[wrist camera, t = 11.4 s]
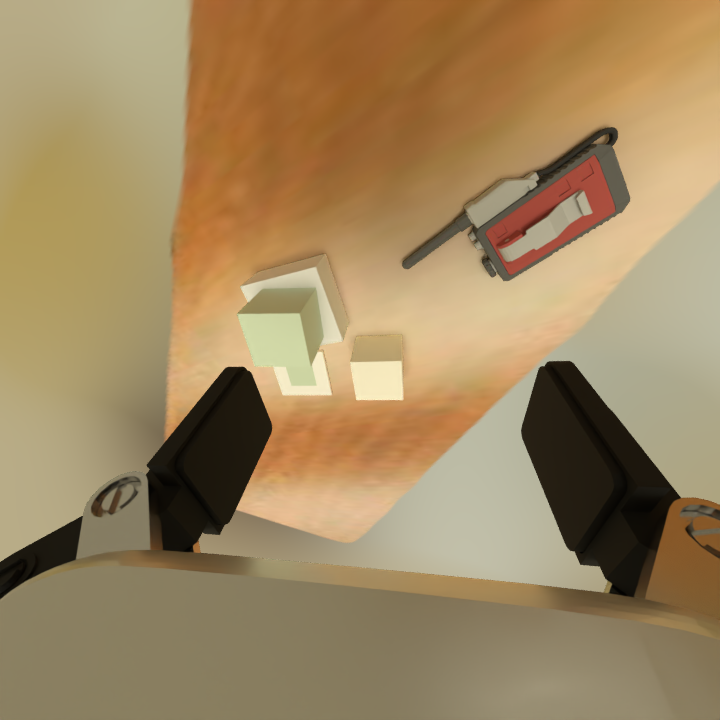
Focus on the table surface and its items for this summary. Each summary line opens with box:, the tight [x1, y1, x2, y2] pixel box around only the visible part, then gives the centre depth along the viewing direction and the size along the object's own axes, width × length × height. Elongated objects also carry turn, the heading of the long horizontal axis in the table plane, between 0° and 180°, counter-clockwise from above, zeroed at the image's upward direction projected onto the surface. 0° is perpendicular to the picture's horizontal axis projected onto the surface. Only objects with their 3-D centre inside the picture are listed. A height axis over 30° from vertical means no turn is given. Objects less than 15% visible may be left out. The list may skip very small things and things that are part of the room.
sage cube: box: [237, 288, 324, 367], centre depth 31 cm, size 6×6×6 cm
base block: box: [240, 254, 349, 345], centre depth 36 cm, size 9×9×5 cm
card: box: [273, 350, 332, 395], centre depth 44 cm, size 8×8×1 cm
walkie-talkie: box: [402, 127, 630, 281], centre depth 29 cm, size 9×4×20 cm
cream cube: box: [350, 335, 403, 400], centre depth 38 cm, size 6×6×6 cm
